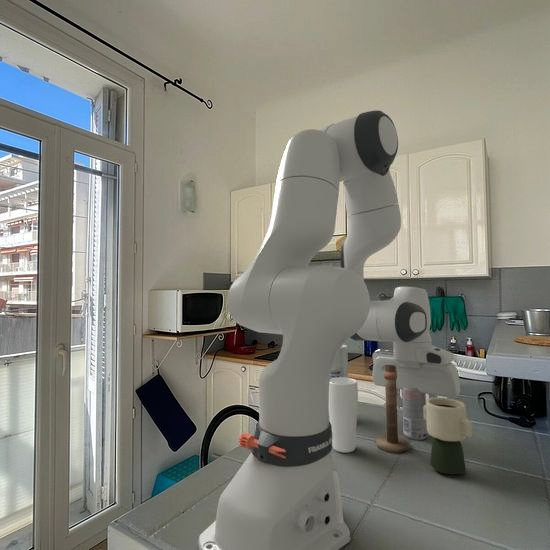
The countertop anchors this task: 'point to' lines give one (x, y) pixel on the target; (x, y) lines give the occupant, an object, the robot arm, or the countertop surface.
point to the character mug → (447, 433)
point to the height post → (391, 416)
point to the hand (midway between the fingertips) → (414, 409)
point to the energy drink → (414, 413)
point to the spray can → (340, 364)
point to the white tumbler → (343, 413)
